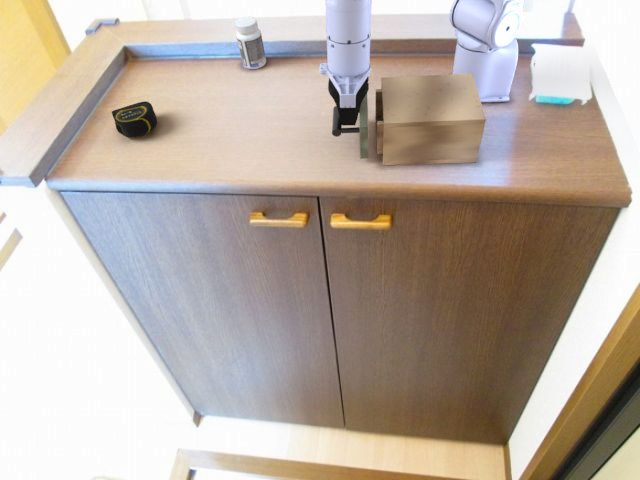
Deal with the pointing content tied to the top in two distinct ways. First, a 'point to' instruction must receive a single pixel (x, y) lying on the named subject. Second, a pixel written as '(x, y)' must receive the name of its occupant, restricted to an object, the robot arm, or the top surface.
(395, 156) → the cabinet
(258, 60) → the pill bottle
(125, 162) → the top surface
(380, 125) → the drawer
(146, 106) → the tape measure
